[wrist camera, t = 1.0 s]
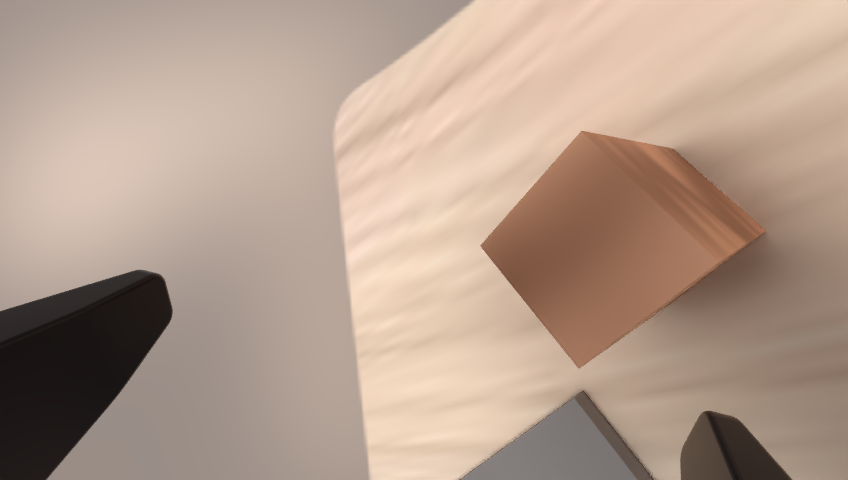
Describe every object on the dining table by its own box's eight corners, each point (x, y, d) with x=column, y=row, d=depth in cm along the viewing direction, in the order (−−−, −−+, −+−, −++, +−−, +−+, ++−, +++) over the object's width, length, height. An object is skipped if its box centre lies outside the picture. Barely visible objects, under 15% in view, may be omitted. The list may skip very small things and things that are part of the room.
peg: (765, 231, 18) (718, 262, 11) (668, 305, 20) (578, 368, 13) (673, 148, 19) (581, 130, 12) (593, 225, 22) (480, 245, 15)
